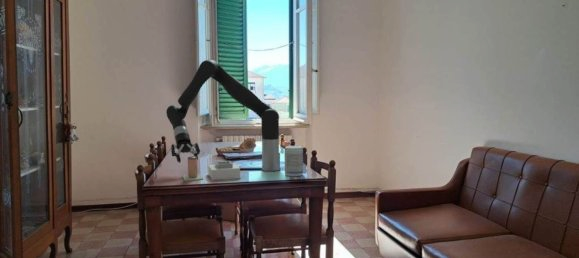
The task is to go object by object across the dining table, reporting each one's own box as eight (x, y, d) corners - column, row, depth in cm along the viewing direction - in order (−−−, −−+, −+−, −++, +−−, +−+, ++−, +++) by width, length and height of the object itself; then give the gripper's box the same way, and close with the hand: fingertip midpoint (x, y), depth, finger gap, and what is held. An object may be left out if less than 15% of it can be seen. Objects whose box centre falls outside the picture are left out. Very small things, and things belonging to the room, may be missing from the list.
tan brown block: (196, 175, 214) (196, 156, 213) (198, 177, 209) (197, 157, 208) (187, 176, 212) (187, 156, 211) (188, 178, 208) (188, 158, 207)
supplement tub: (306, 175, 218) (306, 147, 217) (291, 177, 213) (291, 148, 211) (296, 172, 226) (296, 145, 225) (281, 174, 221) (281, 146, 219)
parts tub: (238, 172, 225) (237, 159, 224) (243, 177, 212) (243, 164, 212) (208, 174, 220) (208, 161, 219) (211, 179, 207) (211, 165, 207)
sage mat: (201, 175, 216) (201, 174, 216) (203, 179, 208) (203, 178, 208) (182, 177, 214) (182, 175, 214) (184, 180, 205) (184, 179, 205)
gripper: (169, 132, 219) (175, 157, 210) (196, 131, 226) (203, 155, 217) (167, 141, 224) (173, 166, 216) (193, 139, 231) (200, 164, 223)
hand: (188, 161), depth 217 cm, fingers open, 8 cm apart
